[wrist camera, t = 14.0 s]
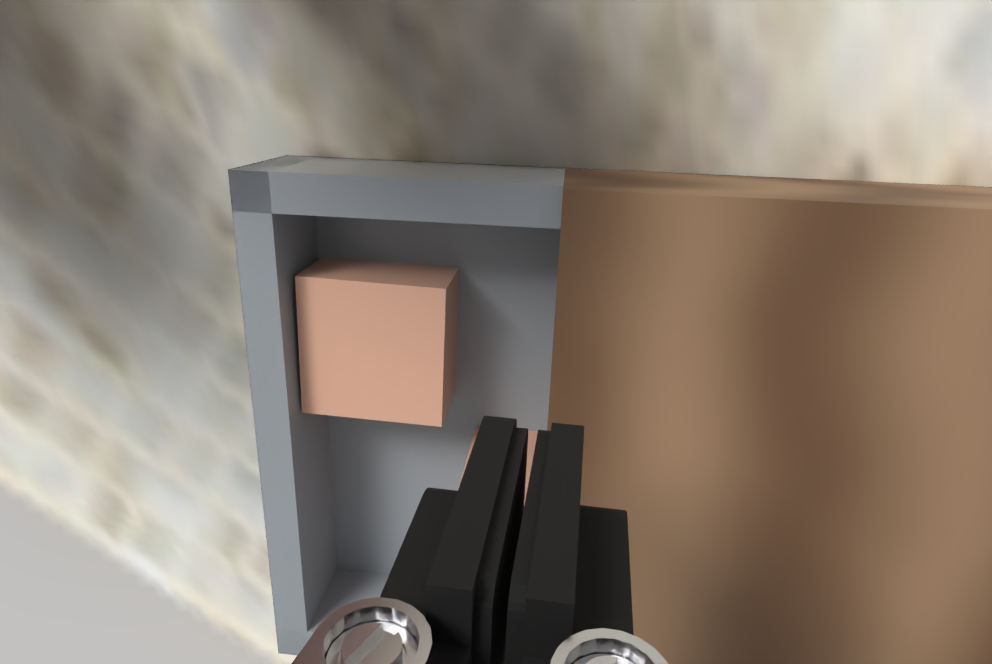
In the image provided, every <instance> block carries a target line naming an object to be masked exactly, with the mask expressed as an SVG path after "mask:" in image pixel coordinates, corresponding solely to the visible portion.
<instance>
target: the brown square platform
mask: <svg viewBox="0 0 992 664" xmlns="http://www.w3.org/2000/svg"><path fill="white" fill-rule="evenodd" d="M552 422H553V423H563V424H573V425H583V426H584V444H583V462H582V480H581V499H580V505H584V506H593V507H602V508H610V509H619V510H626V511H627V518H628V536H629V556H630V575H631V594H632V614H633V633H634V636H636V637H639V638H641V639H642V640H644V641H645V642H646V643H648V644H649V645H651V646H652V647H654V648H655V649H656V650H657V651H658V652H659V653H660V654H661V656H662V657H663V658H664V659H665V660H666V661H667V662H668V664H992V187H974V186H952V185H930V184H908V183H886V182H864V181H842V180H820V179H797V178H775V177H753V176H731V175H709V174H687V173H665V172H643V171H620V170H598V169H576V168H565V175H564V185H563V199H562V214H561V229H560V244H559V259H558V275H557V290H556V305H555V320H554V335H553V350H552V365H551V380H550V396H549V411H548V426H547V431H551V425H552Z"/></svg>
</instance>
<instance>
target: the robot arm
mask: <svg viewBox="0 0 992 664" xmlns="http://www.w3.org/2000/svg"><path fill="white" fill-rule="evenodd" d="M583 444H584V426H583V425H573V424H563V423H553V422H552V425H551V431H547V430H538V433H537V439H536V444H535V450H534V455H533V461H532V466H531V472H530V478H529V483H528V489H527V494H526V500H525V483H526V466H527V448H528V429H527V428H518V427H517V420H516V419H514V418H504V417H494V416H484V417H483V419H482V422H481V425H480V427H479V430H478V433H477V436H476V439H475V442H474V445H473V448H472V451H471V454H470V457H469V460H468V462H467V465H466V468H465V471H464V474H463V477H462V480H461V483H460V486H459V489H458V491H456V490H447V489H439V488H430V487H428V488H427V489H426V490H425V492H424V493H423V495H422V498H421V500H420V503H419V505H418V507H417V510H416V512H415V514H414V517H413V519H412V522H411V524H410V526H409V529H408V531H407V533H406V536H405V538H404V541H403V543H402V545H401V548H400V550H399V552H398V555H397V557H396V560H395V562H394V564H393V567H392V569H391V571H390V574H389V576H388V579H387V581H386V583H385V586H384V588H383V590H382V593H381V595H380V597H377V598H367V599H361V600H358V601H355V602H352V603H349V604H346V605H344V606H343V607H341V608H339V609H338V610H336V611H334V612H333V613H331V614H330V615H329V616H328V617H327V618H326V619H325V620H324V621H323V622H322V623H321V624H320V625H319V626H318V628H317V629H316V630H315V632H314V633H313V635H312V636H311V637H310V639H309V640H308V642H307V643H306V644H305V646H304V647H303V649H302V650H301V651H300V653H299V654H298V656H297V657H296V658H295V660H294V661H293V663H292V664H668V662H667V661H666V660H665V659H664V658H663V657H662V656H661V654H660V653H659V652H658V651H657V650H656V649H655V648H654V647H652V646H651V645H649V644H648V643H646V642H645V641H644V640H642V639H641V638H639V637H636V636H634V633H633V614H632V594H631V575H630V556H629V536H628V518H627V511H626V510H619V509H610V508H602V507H593V506H584V505H580V499H581V480H582V462H583ZM524 500H525V505H524Z"/></svg>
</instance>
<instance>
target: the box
mask: <svg viewBox="0 0 992 664" xmlns="http://www.w3.org/2000/svg"><path fill="white" fill-rule="evenodd" d="M228 174H229V184H230V193H231V203H232V213H233V222H234V232H235V241H236V251H237V260H238V270H239V280H240V289H241V299H242V308H243V318H244V327H245V337H246V347H247V356H248V366H249V375H250V385H251V394H252V404H253V413H254V423H255V433H256V442H257V452H258V461H259V471H260V480H261V490H262V500H263V509H264V519H265V528H266V538H267V547H268V557H269V566H270V576H271V586H272V595H273V605H274V614H275V624H276V633H277V643H278V653H282V654H291V655H298V654H299V653H300V651H301V650H302V649H303V647H304V646H305V644H306V643H307V642H308V640H309V639H310V637H311V636H312V635H313V633H314V632H315V630H316V629H317V628H318V626H319V625H320V624H321V623H322V622H323V621H324V620H325V619H326V618H327V617H328V616H329V615H330V614H331V613H333V612H334V611H336V610H338V609H339V608H341V607H343V606H344V605H346V604H349V603H352V602H355V601H358V600H361V599H367V598H377V597H380V595H381V593H382V590H383V588H384V586H385V583H386V581H387V579H388V576H389V574H390V571H391V569H392V567H393V564H394V562H395V560H396V557H397V555H398V552H399V550H400V548H401V545H402V543H403V541H404V538H405V536H406V533H407V531H408V529H409V526H410V524H411V522H412V519H413V517H414V514H415V512H416V510H417V507H418V505H419V503H420V500H421V498H422V495H423V493H424V492H425V490H426V489H427V488H428V487H430V488H439V489H447V490H456V491H458V487H459V484H460V480H461V477H462V473H463V470H464V466H465V463H466V459H467V456H468V452H469V449H470V445H471V442H472V438H473V435H474V431H475V428H476V427H480V425H481V422H482V419H483V417H484V416H494V417H504V418H514V419H516V420H517V427H518V428H527V429H528V430H530V431H538V430H547V426H548V411H549V396H550V380H551V365H552V350H553V335H554V320H555V305H556V290H557V275H558V259H559V244H560V229H561V214H562V199H563V185H564V175H565V168H554V167H532V166H510V165H488V164H466V163H444V162H421V161H399V160H377V159H355V158H333V157H311V156H289V155H286V156H282V157H278V158H274V159H270V160H265V161H261V162H257V163H253V164H249V165H245V166H241V167H237V168H233V169H229V170H228ZM323 256H329V257H342V258H354V259H366V260H378V261H390V262H402V263H414V264H426V265H438V266H451V267H459V292H458V319H457V345H456V372H455V394H454V396H453V399H452V401H451V404H450V406H449V409H448V412H447V414H446V417H445V419H444V422H443V425H442V427H438V426H428V425H418V424H408V423H399V422H389V421H379V420H369V419H360V418H350V417H340V416H330V415H320V414H311V413H302V404H301V384H300V364H299V345H298V325H297V305H296V286H295V276H296V275H297V274H299V273H300V272H302V271H303V270H305V269H306V268H307V267H309V266H310V265H312V264H313V263H315V262H316V261H318V260H319V259H321V258H322V257H323Z"/></svg>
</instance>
